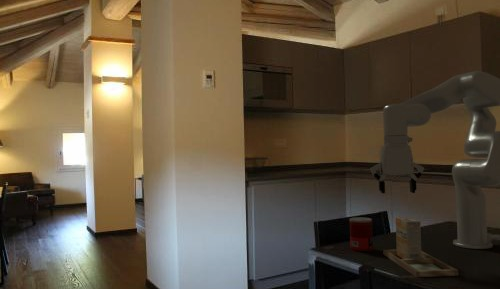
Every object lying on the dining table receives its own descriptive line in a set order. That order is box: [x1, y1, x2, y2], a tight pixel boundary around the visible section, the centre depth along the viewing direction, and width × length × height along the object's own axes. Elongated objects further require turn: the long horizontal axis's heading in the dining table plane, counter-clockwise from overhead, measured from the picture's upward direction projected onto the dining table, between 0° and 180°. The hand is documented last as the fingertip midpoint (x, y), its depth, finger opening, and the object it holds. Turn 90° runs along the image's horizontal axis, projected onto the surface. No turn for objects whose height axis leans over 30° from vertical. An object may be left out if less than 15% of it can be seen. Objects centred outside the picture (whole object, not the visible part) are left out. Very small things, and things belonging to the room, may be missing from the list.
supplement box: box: [395, 216, 422, 259], centre depth 129 cm, size 8×5×13 cm, turn 5°
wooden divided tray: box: [382, 248, 459, 278], centre depth 123 cm, size 12×25×2 cm, turn 2°
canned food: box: [349, 216, 374, 252], centre depth 143 cm, size 8×8×11 cm
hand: (397, 192), depth 131 cm, fingers open, 9 cm apart
